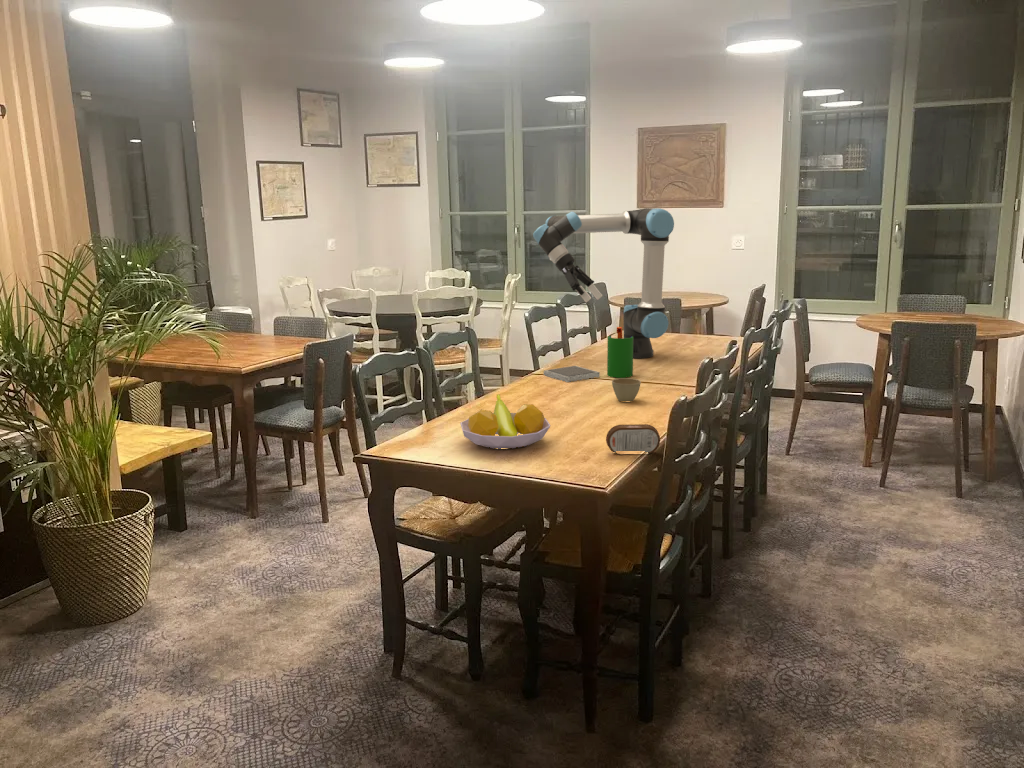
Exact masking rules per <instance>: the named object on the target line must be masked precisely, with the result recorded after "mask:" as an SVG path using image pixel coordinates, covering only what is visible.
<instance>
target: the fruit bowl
mask: <svg viewBox="0 0 1024 768" xmlns="http://www.w3.org/2000/svg"><path fill="white" fill-rule="evenodd" d="M460 427H461V430H462V434H463V436H464V438H466V439H467V440H469V441H470V442H471V443H474V444H475V445H479V446H483V447H485V448H489V447H490V449H494V448H498V449H501V448H512V449H516V447H518V448H522V446H524V447H528V446H530V445H532V444H535V443H537V442H539V441H541V440H543V438H544V437H545V435H546V434H547V432H548V431H549V429H550V427H551V424H550V423H549V421H548V420H547V418H546V417H545V416H544V413H543V412H542V411H541V410H540V409H539V408H538V407H537V406H535V404H533V403H532V404H531V403H530V404H527V403H526V404H523V405H521V407H520V408H519V409H517V411H516V412H511V411H510V410H509V408H508V407H507V405H506V404H505V402H504V401H503V400H502V399H501V394H499V393H498V394H496V401H495V405H494V410H493V412H492V411H491V410H487V409H480V410H478V411H477V412H475V413H474V414H472V415H471V416H469V417H468V418H467V419H465V420H463V421H461V422H460ZM518 433H520V434H523V435H518V436H517V434H518ZM495 434H498V435H499V436H495ZM527 445H528V446H527ZM498 449H497V450H498Z"/></svg>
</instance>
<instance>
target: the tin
mask: <svg viewBox="0 0 1024 768" xmlns="http://www.w3.org/2000/svg"><path fill="white" fill-rule="evenodd" d="M605 441H606V446H607V447H608V449H609V450H610V451H611V452H612V453H613V452H616V451H645V452H648V453H649V454H648V455H650V454H652V453H654V452H656V451H657V449H658V448H659V446H660V444H661V437H660V434H659V431H658V429H657V428H656V427H654V425H651V424H646V423H645V424H642V423H641V424H616V425H614V426H613V427H610V429H609V430H608V431H607V434H606V436H605Z"/></svg>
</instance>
